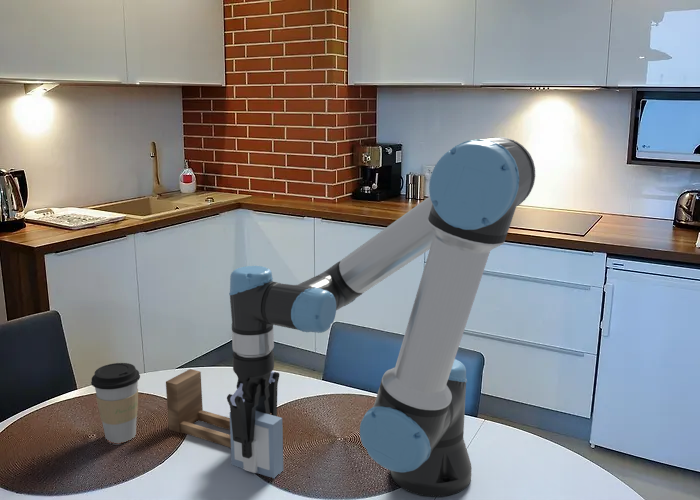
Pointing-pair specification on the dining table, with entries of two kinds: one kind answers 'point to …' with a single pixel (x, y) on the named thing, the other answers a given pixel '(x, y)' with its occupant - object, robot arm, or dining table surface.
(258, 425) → the door panel
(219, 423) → the track
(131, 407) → the coffee cup
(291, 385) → the dining table surface
